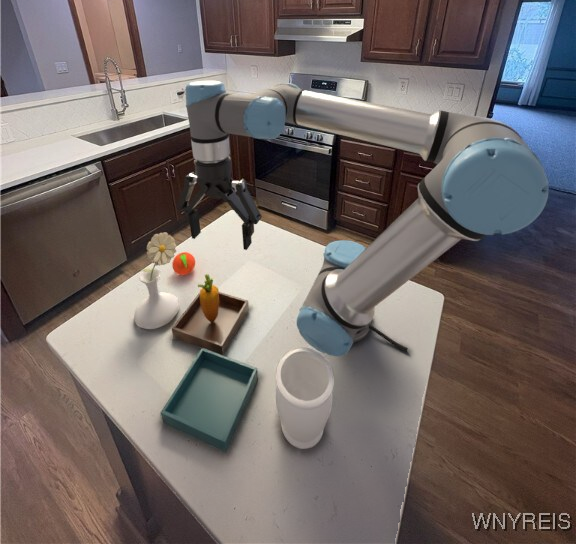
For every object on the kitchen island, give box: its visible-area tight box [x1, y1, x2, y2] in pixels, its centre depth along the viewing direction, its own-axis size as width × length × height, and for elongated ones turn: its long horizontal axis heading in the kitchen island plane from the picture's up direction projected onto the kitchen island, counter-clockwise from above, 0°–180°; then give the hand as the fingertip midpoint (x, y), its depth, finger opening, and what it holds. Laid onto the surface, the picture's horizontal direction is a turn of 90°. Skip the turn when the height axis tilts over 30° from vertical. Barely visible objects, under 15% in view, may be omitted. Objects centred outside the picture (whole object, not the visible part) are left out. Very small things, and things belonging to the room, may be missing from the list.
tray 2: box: [160, 348, 259, 453], centre depth 65 cm, size 14×14×3 cm
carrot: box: [197, 273, 220, 323], centre depth 80 cm, size 5×5×15 cm
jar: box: [275, 347, 335, 450], centre depth 59 cm, size 11×10×15 cm
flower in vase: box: [133, 231, 180, 330], centre depth 81 cm, size 13×11×25 cm
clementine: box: [172, 251, 196, 276], centre depth 98 cm, size 8×7×7 cm
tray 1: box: [171, 291, 250, 356], centre depth 82 cm, size 14×14×3 cm
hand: (221, 240), depth 73 cm, fingers open, 13 cm apart
